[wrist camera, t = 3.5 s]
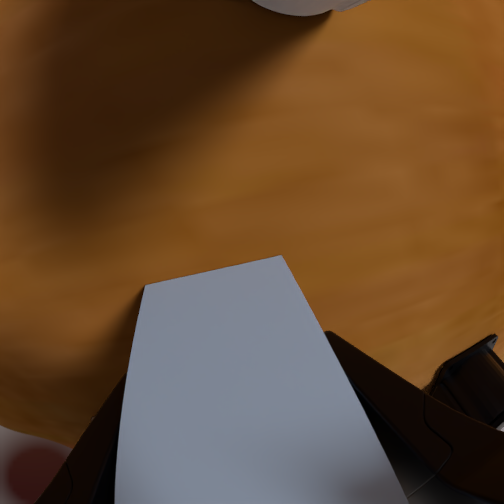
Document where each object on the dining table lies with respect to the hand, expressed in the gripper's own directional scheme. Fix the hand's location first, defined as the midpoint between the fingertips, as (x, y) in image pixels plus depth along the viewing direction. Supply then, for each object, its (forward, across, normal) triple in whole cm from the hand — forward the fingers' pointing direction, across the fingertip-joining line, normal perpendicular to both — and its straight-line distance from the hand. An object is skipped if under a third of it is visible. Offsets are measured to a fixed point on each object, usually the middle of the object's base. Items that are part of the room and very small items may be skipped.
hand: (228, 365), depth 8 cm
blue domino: (+4, 0, 0) cm, 4 cm away
